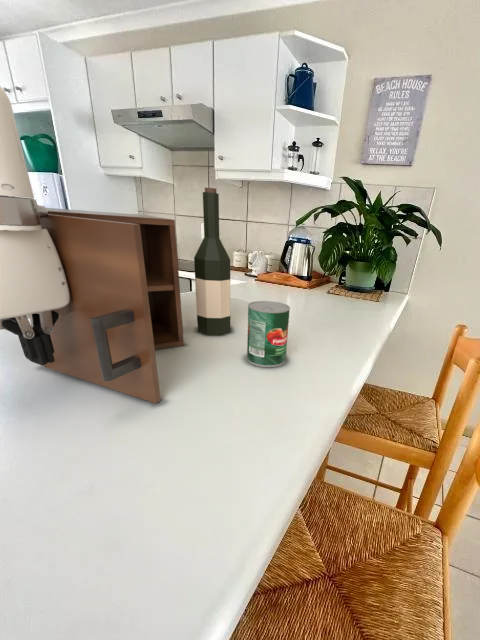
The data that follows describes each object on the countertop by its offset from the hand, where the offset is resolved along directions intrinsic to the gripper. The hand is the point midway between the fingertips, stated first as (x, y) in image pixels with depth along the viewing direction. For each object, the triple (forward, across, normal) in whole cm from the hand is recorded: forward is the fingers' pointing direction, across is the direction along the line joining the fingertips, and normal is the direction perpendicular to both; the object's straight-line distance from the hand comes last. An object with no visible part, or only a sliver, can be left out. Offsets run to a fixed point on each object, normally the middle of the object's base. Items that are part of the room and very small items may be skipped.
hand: (42, 361), depth 45 cm
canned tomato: (+6, -30, +20) cm, 36 cm away
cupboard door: (+5, -3, +3) cm, 6 cm away
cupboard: (+5, -20, -12) cm, 24 cm away
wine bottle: (+6, -39, 0) cm, 39 cm away
